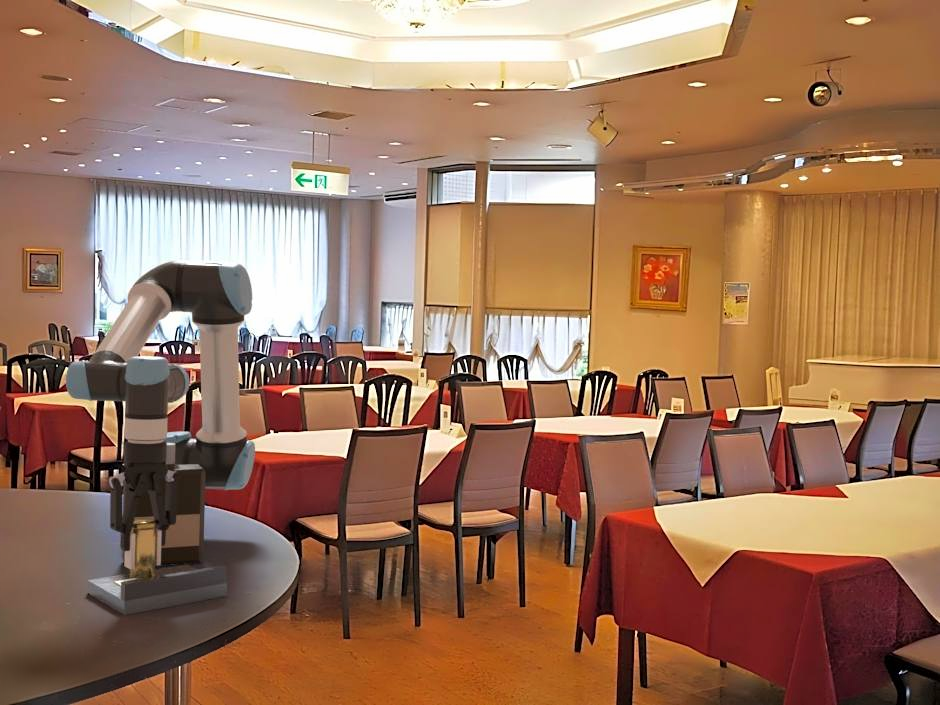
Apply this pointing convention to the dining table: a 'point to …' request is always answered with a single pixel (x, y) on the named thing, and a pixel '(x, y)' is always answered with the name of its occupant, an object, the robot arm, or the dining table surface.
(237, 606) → the dining table surface
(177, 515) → the brown box
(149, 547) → the gold cylinder
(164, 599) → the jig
